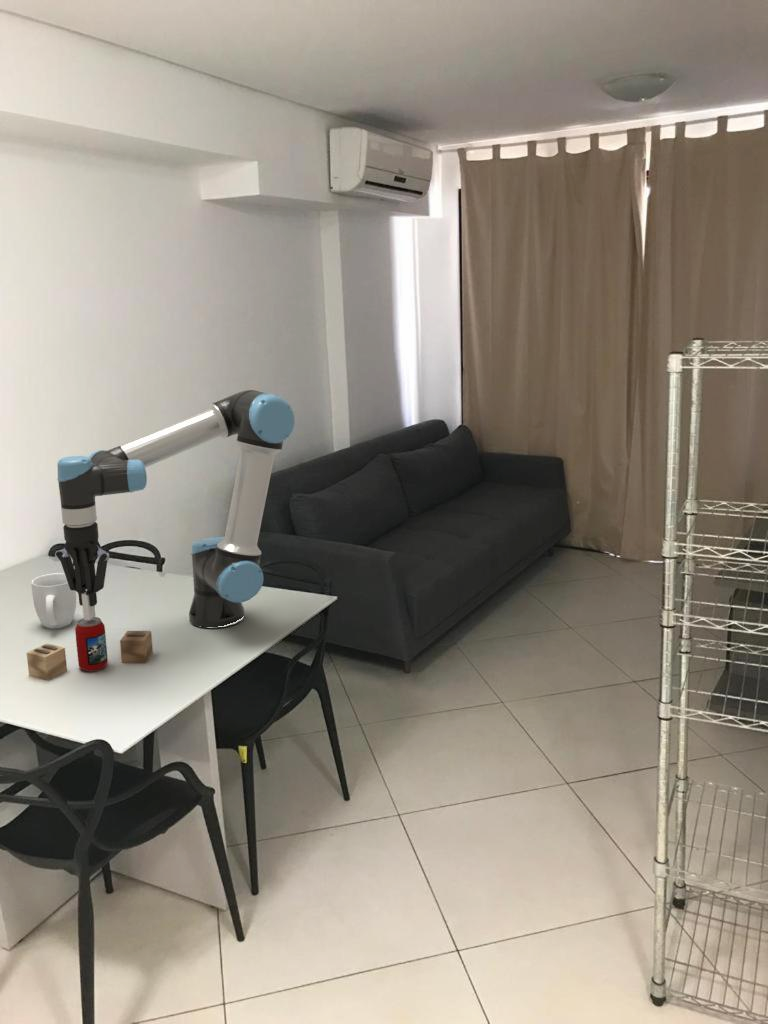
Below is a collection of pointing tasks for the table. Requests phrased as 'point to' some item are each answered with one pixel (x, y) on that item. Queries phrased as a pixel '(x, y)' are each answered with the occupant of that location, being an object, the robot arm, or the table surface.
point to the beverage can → (91, 644)
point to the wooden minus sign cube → (136, 646)
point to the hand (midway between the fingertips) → (89, 617)
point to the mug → (53, 600)
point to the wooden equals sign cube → (46, 661)
